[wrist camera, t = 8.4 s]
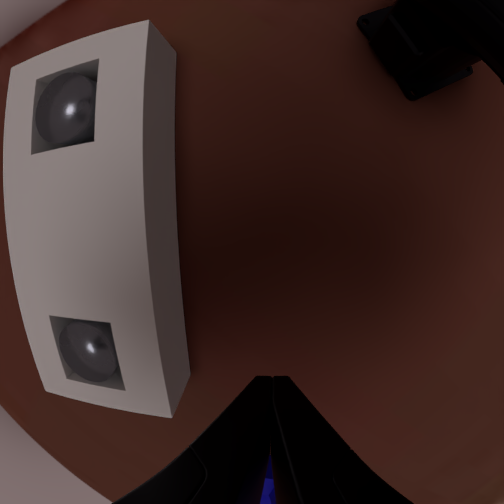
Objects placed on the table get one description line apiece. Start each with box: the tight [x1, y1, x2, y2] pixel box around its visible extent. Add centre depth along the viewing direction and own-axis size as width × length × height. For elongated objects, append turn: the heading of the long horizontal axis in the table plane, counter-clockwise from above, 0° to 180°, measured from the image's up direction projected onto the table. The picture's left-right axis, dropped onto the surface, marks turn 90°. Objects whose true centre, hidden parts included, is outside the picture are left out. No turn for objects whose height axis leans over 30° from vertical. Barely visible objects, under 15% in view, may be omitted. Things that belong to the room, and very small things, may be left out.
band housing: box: [3, 20, 191, 418], centre depth 17 cm, size 10×22×5 cm, turn 1°
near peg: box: [35, 72, 97, 145], centre depth 15 cm, size 4×4×5 cm
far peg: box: [59, 319, 119, 382], centre depth 18 cm, size 4×4×5 cm
